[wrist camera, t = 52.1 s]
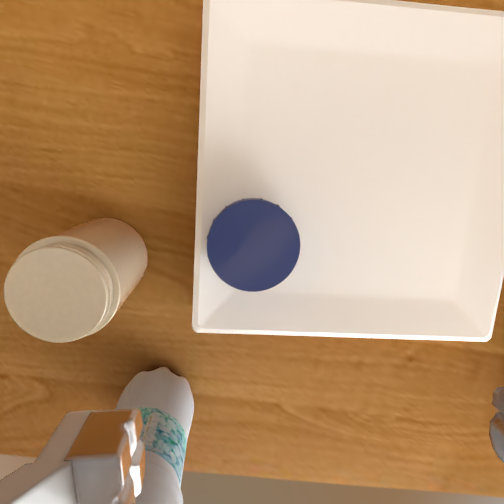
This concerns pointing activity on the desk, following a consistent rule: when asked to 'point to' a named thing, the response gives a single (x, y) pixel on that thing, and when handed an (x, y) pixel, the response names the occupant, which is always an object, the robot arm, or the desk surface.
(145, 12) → the desk surface
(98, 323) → the jar
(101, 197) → the desk surface
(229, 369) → the desk surface
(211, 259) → the lid
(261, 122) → the plate
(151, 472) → the bottle
